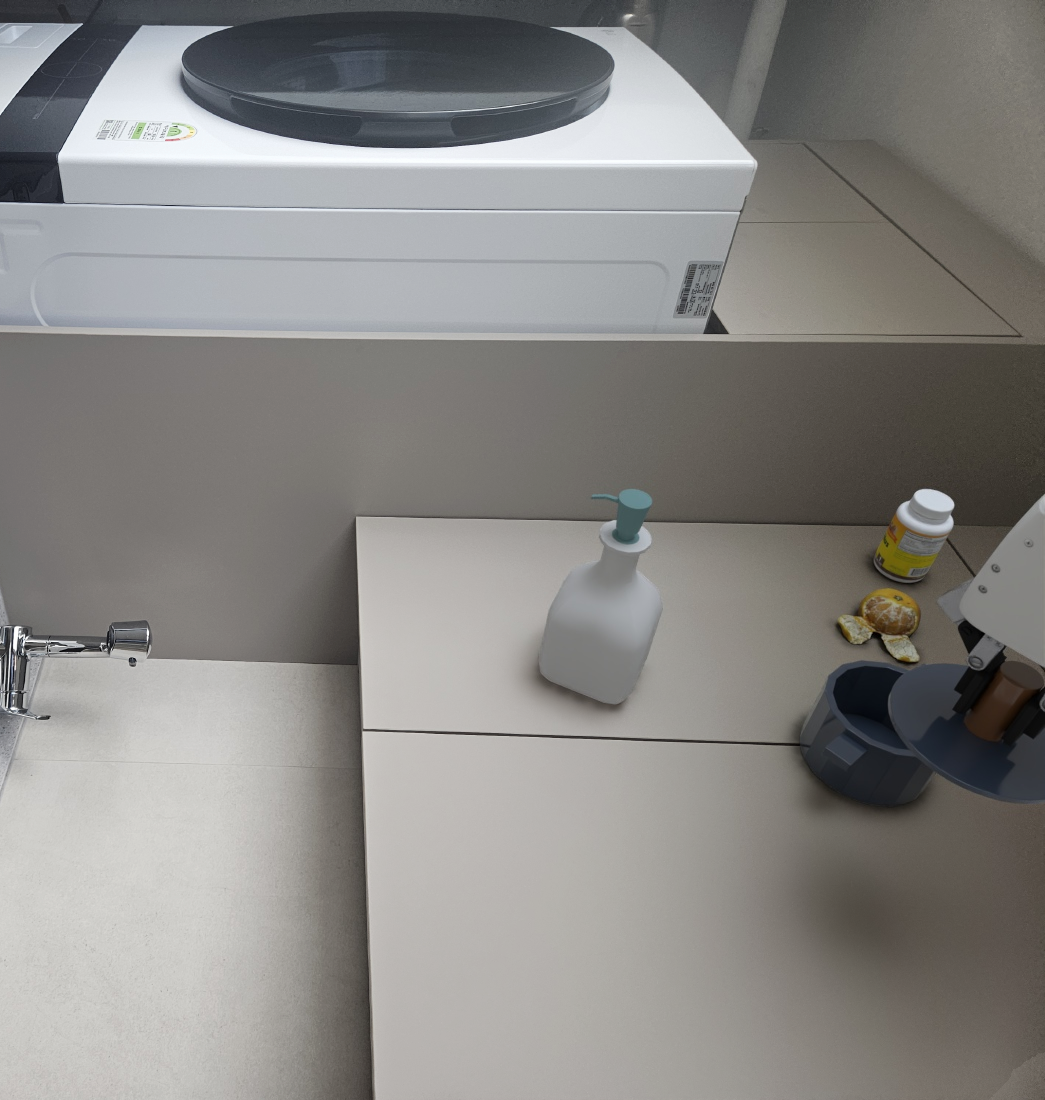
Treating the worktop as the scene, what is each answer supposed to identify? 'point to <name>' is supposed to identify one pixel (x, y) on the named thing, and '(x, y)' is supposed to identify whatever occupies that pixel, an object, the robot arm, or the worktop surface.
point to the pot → (861, 738)
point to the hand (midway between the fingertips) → (991, 717)
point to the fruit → (885, 622)
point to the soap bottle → (605, 611)
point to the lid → (972, 730)
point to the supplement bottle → (915, 536)
